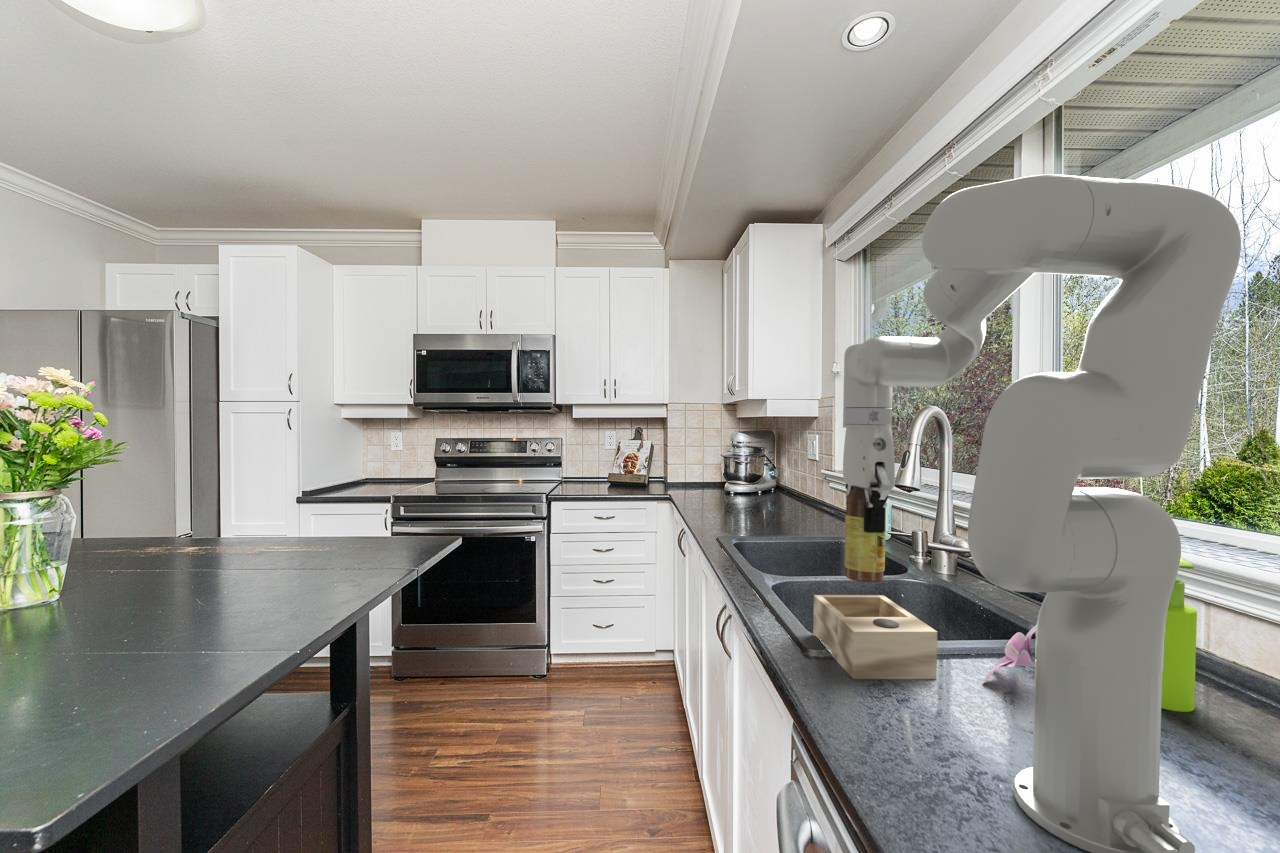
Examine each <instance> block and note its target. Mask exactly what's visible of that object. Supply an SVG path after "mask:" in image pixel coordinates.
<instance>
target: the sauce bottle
mask: <svg viewBox="0 0 1280 853" xmlns="http://www.w3.org/2000/svg"><path fill="white" fill-rule="evenodd" d="M870 487H878V485H871V486H870ZM874 494H875V493H871V495H872V497H873V495H874ZM845 505H846V507H845V519H844V521H845V523H844V563H843V565H844V568H845V570H844V575H845V577H846V578H847V579H850V580H852V581H855V582H860V583H869V584H871V583H878V582H882V581H883V580H884V577H885V575H884V574H885V571H886V570H885V568H886V533H887V532H886V529H887V528H886V524H887V523H886V522H887V521H886V517H887V513H886V512H887V507H886V508H885V531H884V532H883V533H867V532H865V531H864V507H867V504H866V498H865V491H864V489H861V488H858V487H856V486H854V487H853V489H852V490H851V492H849V495H848V497H847V499H846V502H845Z"/></svg>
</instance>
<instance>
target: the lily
mask: <svg viewBox="0 0 1280 853" xmlns="http://www.w3.org/2000/svg"><path fill="white" fill-rule="evenodd" d="M1036 626H1037V623H1036V624H1035V625H1034V626H1033V627H1032V628H1031V629H1030V630H1029V631H1028V632H1027V634H1026V635H1025V634H1023V633H1022V632H1019V631H1018V632H1016V633H1015V634H1013V636H1012V637H1011V638H1010V639H1009V640H1008V642H1006V643H1007V644H1005V643H1003V644H1002V645H1000V646H1001V647H1003V648H1004V654H1005V656H1003V657H1002V658H1001V659H1000V660H999V661H998V662H997V664H995V665H994V667H992V668H991V669H990V670H989V671H988V673H987V674H986V676H985V677H984V679H983V681H982V685H983V684H984V683H985V682H986V681H988V679H989V678H990V676H991V675H992V674H994V673H995V671H997V670H998V669H999V668H1003V667H1009V668H1010V667H1011V668H1014V667H1020V666H1022V667H1024V666H1030V667H1032V668H1033V669H1034V670H1035V663H1033V659H1032V652H1031V651H1032V650H1031V641H1032V640H1031V639H1032V637H1033V635H1034V633H1036Z"/></svg>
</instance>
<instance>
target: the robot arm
mask: <svg viewBox="0 0 1280 853" xmlns="http://www.w3.org/2000/svg"><path fill="white" fill-rule="evenodd" d="M921 240H922V241H921V245H922V246H921V247H922V252H923V254H924V257H925V258H926V260H927V261H928V263H930V264H931V265H933V266H934V267H937V268H938V269H937V270H936V271H935V272H934V273H933V275H931V277H930V278H929V279H928V280H927V282H926V284H925V285H924V288H923V293H922V294H923V300H924V303H925V306H926V308H927V310H928V311H929V313H930V314H931V315H932V316H933V317H934V318H935V319H936V320H937V321H938V322H939V323H941V324H942V325H944V326H945V327H946V328H945V329H943V330H942V331H941V333H939V334H938V335H936V336H934V337H923V336H921V337H919V336H918V337H917V336H893V335H892V336H890V335H887V336H886V335H883V336H881V335H879V336H873V337H871V338H869V339H866V340H865V341H864V342H862V343H855V344H852V345H849V346H848V347H847V348H846V349H845V352H844V358H843V397H842V398H843V405H842V406H843V407H842V409H843V410H842V412H843V413H842V428H846V429H845V436H844V445H843V457H842V458H843V461H842V474H843V481H844V483H845V489H846V493H845V494H846V495H845V498H846V500H847V497H848V495H849V492H851V490H852V489H853V487H854V486H856V487H858V488H861V489H864V491H865V498H866V504H867V507H864V531H865V532H867V533H883V532H884V531H885V508H886V509H887V507H888V506H887V501H888V498H889V495H890V493H891V491H892V490H893V489H894V488H895V485H896V475H895V474H896V473H895V472H896V468H895V464H896V463H895V450H894V449H895V446H894V439H893V438H894V437H893V432H892V426H893V395H894V394H893V387H896V388H897V387H898V388H899V387H910V388H911V387H913V388H914V387H917V388H932V387H938V386H941V385H943V384H946V383H948V382H950V381H951V380H953V379H954V378H955V377H956V376H958V375H959V374H960V373H962V372H963V371H964V370H965V369H967V368H968V367H969V366H970V365H971V364H972V363H973V362H974V361H975V360H976V359H977V357H978V356H979V355H980V352H981V350H982V347H983V345H984V342H985V337H986V334H987V321H986V318H988V316H990V315H991V314H992V313H993V312H994V311H996V310H997V309H998V307H1000V306H1001V305H1003V303H1004V302H1005V301H1006V300H1007V299H1008V298H1010V297H1011V295H1013V294H1014V293H1015V292H1016V291H1018V289H1019V288H1021V287H1022V286H1023V285H1024V284H1025V283H1026V282H1027V281H1028V280H1029V279H1030V278H1032V277H1033V276H1034V275H1035V274H1050V275H1051V274H1053V275H1065V276H1067V275H1068V276H1087V277H1089V276H1093V277H1106V278H1107V277H1108V278H1114V279H1116V280H1118V281H1119V284H1117V285H1116V286H1115V287H1114V288H1113V289H1112V290H1111V291H1110V292H1109V293H1108V294H1107V296H1106V297H1105V298H1103V300H1102V302H1101V303H1100V304H1099V306H1098V307H1097V309H1096V310H1095V312H1094V314H1093V316H1092V317H1091V318H1090V320H1089V323H1088V326H1087V328H1086V333H1085V336H1084V344H1083V350H1082V352H1081V356H1080V360H1079V364H1078V367H1077V369H1076V370H1075V372H1066V371H1046V372H1045V371H1044V372H1038V373H1033V374H1030V375H1026V376H1023V377H1021V378H1019V379H1017V380H1015V381H1014V382H1012V383H1011V384H1009V385H1008V386H1007V387H1006V388H1005V389H1004V390H1003V391H1002V392H1001V393H1000V394H999V396H998V397H997V398H996V400H995V401H994V404H992V406H991V409H990V411H989V414H988V416H987V419H986V422H985V425H984V430H983V436H982V440H981V445H980V450H979V458H978V463H977V468H976V474H975V479H974V484H973V490H972V496H971V503H970V508H969V514H968V521H967V522H968V523H967V541H968V548H969V553H970V556H971V558H972V560H973V563H974V565H975V567H976V568H977V570H978V571H979V573H980V574H981V575H982V576H983V577H984V578H985V579H986V580H988V582H990V583H991V584H994V585H995V586H996V587H998V588H1002V589H1005V590H1008V591H1012V592H1017V593H1018V592H1020V593H1046V594H1045V597H1044V599H1043V601H1042V603H1041V606H1040V609H1039V611H1038V615H1037V620H1036V624H1037V626H1036V631H1035V644H1034V645H1035V648H1034V649H1035V650H1034V653H1035V654H1034V666H1035V669H1034V683H1033V684H1034V685H1033V686H1034V691H1033V694H1034V695H1033V725H1032V726H1033V727H1032V728H1033V730H1032V731H1033V734H1032V736H1033V737H1032V767H1027V768H1025V769H1022V770H1020V771H1019V772H1018V773H1017V774H1016V775H1015V777H1014V779H1013V796H1014V799H1015V800H1016V802H1017V804H1018V805H1019V807H1020V808H1021V809H1022V810H1023V811H1024V812H1025V814H1026V815H1027V816H1028V817H1029V818H1031V820H1032V821H1034V822H1035V823H1036V824H1037V825H1039V826H1040V827H1042V828H1043V829H1045V830H1046V831H1047V832H1049V833H1050V834H1052V835H1053V836H1056V837H1057V838H1059V839H1061V840H1062V841H1064V842H1066V843H1068V844H1070V845H1073V846H1074V847H1077V848H1079V849H1080V850H1083V851H1086V852H1089V853H1195V852H1196V847H1195V845H1194V843H1193V842H1192V841H1191V840H1189V839H1187V838H1186V837H1185V836H1183V835H1182V834H1181V831H1180V829H1179V827H1178V825H1177V824H1176V823H1175V822H1174V820H1173V819H1172V818H1171V817H1170V803H1169V802H1167V801H1166V800H1164V799H1163V798H1162V797H1161V796H1160V769H1161V768H1160V765H1161V762H1160V761H1161V732H1162V729H1161V728H1162V727H1161V726H1162V708H1161V698H1162V672H1163V656H1164V635H1165V625H1166V617H1167V611H1168V606H1169V601H1170V597H1171V593H1172V590H1173V587H1174V583H1175V580H1176V578H1177V576H1178V573H1179V569H1180V568H1179V565H1180V558H1182V557H1181V556H1182V542H1181V537H1180V533H1179V530H1178V527H1177V525H1176V524H1175V522H1174V520H1173V519H1172V517H1171V516H1170V514H1169V513H1168V512H1167V511H1166V510H1165V509H1164V508H1163V506H1161V505H1159V504H1158V503H1157V502H1155V501H1154V500H1152V499H1150V498H1149V497H1146V496H1144V495H1143V494H1139V493H1138V492H1134V491H1129V490H1126V489H1121V488H1116V487H1105V486H1104V487H1102V486H1087V487H1086V486H1080V487H1078V486H1077V487H1076V483H1077V481H1078V480H1079V479H1080V480H1093V479H1094V480H1097V479H1099V480H1102V479H1104V480H1107V479H1109V480H1110V479H1135V478H1138V479H1139V478H1145V477H1150V476H1155V475H1159V474H1161V473H1164V472H1166V471H1167V470H1169V469H1170V468H1171V467H1172V466H1174V465H1175V464H1176V463H1177V462H1178V461H1179V459H1180V457H1181V456H1182V453H1183V451H1184V448H1185V446H1186V444H1187V441H1188V438H1189V434H1190V430H1191V426H1192V424H1193V418H1194V415H1195V412H1196V407H1197V404H1198V400H1199V396H1200V392H1201V388H1202V384H1203V381H1204V378H1205V377H1204V376H1205V373H1206V369H1207V364H1208V361H1209V359H1210V357H1209V356H1210V353H1211V347H1212V343H1213V338H1214V335H1215V331H1216V327H1217V323H1218V321H1219V318H1220V316H1221V313H1222V311H1223V308H1224V305H1225V302H1226V300H1227V296H1228V294H1229V292H1230V289H1231V287H1232V285H1233V281H1234V279H1235V276H1236V272H1237V270H1238V267H1239V262H1240V258H1241V251H1242V237H1241V232H1240V228H1239V224H1238V222H1237V219H1236V218H1235V216H1234V215H1233V213H1232V212H1231V210H1230V209H1229V208H1228V207H1227V206H1226V205H1225V204H1223V203H1222V202H1221V201H1219V200H1218V199H1216V198H1215V197H1213V196H1211V195H1208V194H1206V193H1204V192H1201V191H1199V190H1197V189H1196V190H1195V189H1192V188H1189V187H1183V186H1179V185H1176V184H1175V185H1174V184H1168V183H1162V182H1153V181H1145V180H1137V179H1136V180H1134V179H1124V178H1123V179H1120V178H1104V177H1092V176H1083V175H1069V174H1036V175H1028V176H1022V177H1018V178H1013V179H1006V180H1002V181H998V182H992V183H985V184H981V185H975V186H970V187H966V188H962V189H960V190H957V191H956V192H953V193H951V194H950V195H948V196H947V197H946V198H945V199H943V200H941V202H940V203H939V204H938V205H937V206H936V207H935V209H934V210H933V211H932V213H930V215H929V218H928V219H927V221H926V223H925V225H924V228H923V232H922V238H921ZM871 485H878V487H870V486H871ZM871 493H875V494H874V495H873V497H872V495H871Z"/></svg>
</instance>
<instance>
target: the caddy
mask: <svg viewBox="0 0 1280 853" xmlns="http://www.w3.org/2000/svg"><path fill="white" fill-rule="evenodd" d="M812 618H813V622H812V623H813V624H812V625H813V629H812V635H813V636H814V637H815V636H816V637H818V638H820V639H822V640H821V641H822V642H824V644H825V645H827V647H828V648H829V649H830V650H831V652H832V655H831V657H833V659H834V660H835V661H836V662H837V664H839V665H840V666H841V668H842V669H843V670H844V671H845V672H846V673H847V674H848V675H849V676H850V678H852V680H937V672H938V671H937V669H938V668H937V665H938V663H937V662H938V631H937V630H935V629H934V628H933V627H931V626H930V625H928V624H927V623H925V622H923V621H922V620H921V619H919V618H918V617H916V616H915V615H913V614H912V613H910V612H909V611H908V610H906V609H905V608H903V607H901V606H900V605H898V604H897V603H895V602H894V601H893V600H892V599H890V598H888V597H887V596H886V595H884V594H881V595H880V594H855V595H854V594H813V616H812ZM816 637H815V638H816Z"/></svg>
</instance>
